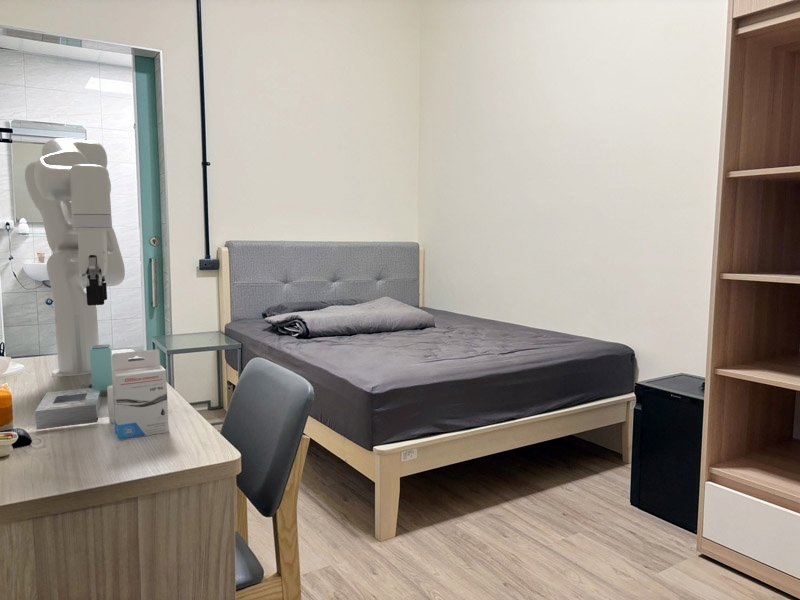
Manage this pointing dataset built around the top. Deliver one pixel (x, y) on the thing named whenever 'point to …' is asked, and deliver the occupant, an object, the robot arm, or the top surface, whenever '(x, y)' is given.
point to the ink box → (139, 395)
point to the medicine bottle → (110, 396)
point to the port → (68, 408)
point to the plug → (101, 366)
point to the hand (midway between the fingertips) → (97, 302)
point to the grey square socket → (84, 386)
